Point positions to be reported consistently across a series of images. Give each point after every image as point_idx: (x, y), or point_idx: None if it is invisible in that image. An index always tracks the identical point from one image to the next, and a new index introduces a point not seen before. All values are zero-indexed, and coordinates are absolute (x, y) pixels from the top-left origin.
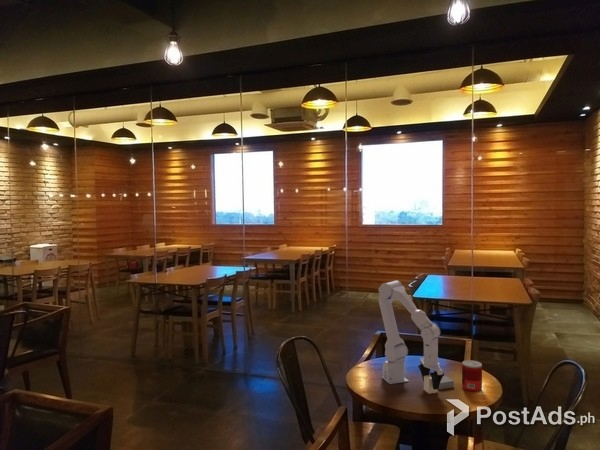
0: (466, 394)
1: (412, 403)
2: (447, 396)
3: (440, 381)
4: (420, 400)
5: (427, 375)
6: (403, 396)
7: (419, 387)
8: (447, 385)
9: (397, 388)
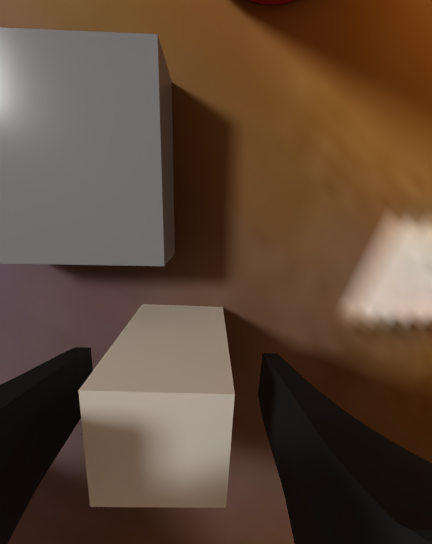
0: (364, 76)
1: None
2: (317, 277)
3: (337, 407)
4: None
5: (86, 460)
6: (198, 527)
7: None
8: (169, 160)
9: (76, 511)
